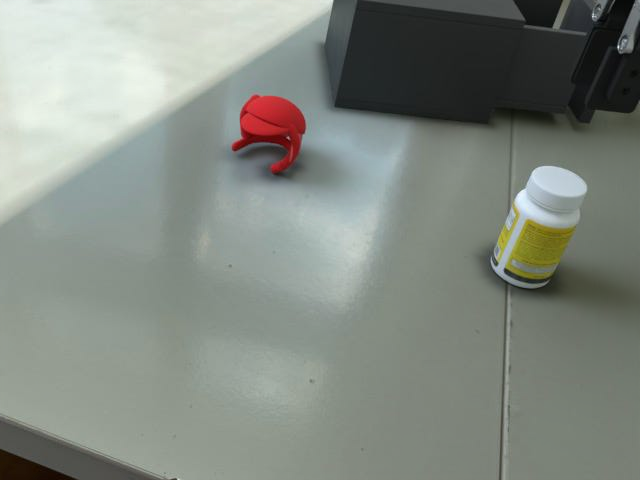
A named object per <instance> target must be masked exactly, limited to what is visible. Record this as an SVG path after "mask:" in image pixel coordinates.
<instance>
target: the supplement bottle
mask: <svg viewBox="0 0 640 480" xmlns="http://www.w3.org/2000/svg"><path fill="white" fill-rule="evenodd" d="M587 192H588V186H587V183H586V181H585V180H584V179H583V178H581V176H579V175H578V174H576V173H574V172H573V171H571V170H569V169H566V168H563V167H560V166H554V165H541V166H539V167H536V168H535V169H533V171H532V172H531V174H530V176H529V178H528V181H527V182H526V185H525V188H524V189H522V190H521V191H519V192H518V193H517V195H516V196H515V199H514V200H513V203H512V205H511V208H510V210H509V213H508V215H507V218H506V219H505V222H504V225H503V227H502V230H501V232H500V235H499V237H498V239H497V241H496V244H495V246H494V249H493V251H492V254H491V257H490V264H491V268H492V269H493V271H494V272H495V273H496V275H498V276H499V278H501V279H503V280H504V281H505V282H507V283H509V284H511V285H513V286H515V287H518V288H524V289H537V288H541V287H544V286H545V285H547V284H549V282H550V280H551V279H552V277H553V276H554V274H555V271H556V269H557V267H558V265H559V263H560V260H561V259H562V257H563V255H564V253H565V250H566V248H567V247H568V244H569V242H570V241H571V238H572V237H573V234H574V232H575V230H576V228H577V226H578V224H579V222H580V219H581V210H580V208H581V206H582V204H583V202H584V199H585V197H586V194H587Z"/></svg>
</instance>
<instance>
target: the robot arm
mask: <svg viewBox="0 0 640 480" xmlns="http://www.w3.org/2000/svg"><path fill="white" fill-rule="evenodd" d="M595 3H596V4H595V6H594V9H593V12H592V20H593V21H594V22H598V24H595V23H591V25H590V27H589V29H588V32H587V34H586V36H585V39H584V41H583V43H582V46H581V48H580V50H579V53H578V55H577V58H576V60H575V62H574V65H573V67H572V69H571V72H570V74H569V79H570V81H571V82H572V83H573V84H576V85H584V86H591V87H590V90H589V92H588V94H587V96H586V98H585V104H586V105H587V107H588V108H589V109H593V110H595V111H602V112H609V113H610V112H611V113H617V114H619V113H620V114H631V113H634V111H635V110H636V109H637V107H638V105H639V103H640V0H596V2H595Z"/></svg>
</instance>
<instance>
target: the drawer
mask: <svg viewBox="0 0 640 480" xmlns="http://www.w3.org/2000/svg"><path fill="white" fill-rule="evenodd" d="M513 1H514V3H515V4H516V6H517V8H518V9H519V11H520V12H521V14H522V15H523V17H524V19H525V20H526V22H525V25H524V27H523V30H522V33H521V36H520V38H519V41H518V44H517V46H516V49H515V52H514V55H513V57H512V60H511V63H510V66H509V68H508V71H507V74H506V76H505V79H504V82H503V85H502V87H501V90H500V93H499V96H498V98H497V101H496V104H495V106H494V107H500V108H508V109H515V110H516V109H518V110H524V111H525V110H526V111H533V112H543V113H551V114H558V115H564V114H565V112H566V110H567V107H568V108H569V110H570V111H571V113H572V114H573V116H574V118H575V120H576V121H577V123H578V124H588V125H589V124H590V123H591V121H592V119H593V117H594V114H595V113H596V110H593V109H589V108H588V107H587V105H586V104H585V98H586V96H587V94H588V92H589V90H590V87H591V86H584V85H576V84H573V83H572V82H571V81H570V79H569V74H570V72H571V69H572V67H573V65H574V62H575V60H576V58H577V55H578V53H579V50H580V48H581V46H582V43H583V41H584V39H585V36H586V34H587V32H588V29H589V27H590V25H591V23H595V24H598V22H594V21H593V20H592V12H593V9H594V6H595V4H596V2H595V1H594V0H570V1H569V2H568V5H567V8H566V10H565V13H564V15H563V18H562V20H561V22H560V25H559V28H555V27H554V25H555V23H556V20H557V18H558V15H559V12H560V10H561V8H562V5H563V2H564V0H513ZM553 27H554V28H553Z"/></svg>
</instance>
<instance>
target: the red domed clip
mask: <svg viewBox="0 0 640 480" xmlns="http://www.w3.org/2000/svg"><path fill="white" fill-rule="evenodd" d="M239 130H240V136H241V137H242V138H240V139H238V140H236V141H234V142H233V143H232V145H231V151H233V152H234V153H235V152H238V151H240V150H242V149H243V148H245V147H247V146H250V145H252V144H257V143H260V144H261V143H263V144H265V143H266V144H273V145H277V146H280V147H282V148H284V149H285V150H286V151H287V153H286V155H285V156H284V158H283V159H282V160H280V161H278V162H276V163H273V164H271V166H270V172H271V174H278V173H282V172H284V171H286V170H287V169H289V168H290V167H291V166H292V165H293V164H294V163H295V161H296V160H297V157H298V156H299V153H300V149H301V145H302V141H303V136H304V135H305V134H306V131H307V122H306V119H305V116H304V114H303V112H302V111H301V109H300V108H299V107H298V106H297V105H296V104H295V103H293V102H292V101H291V100H288V99H286V98H284V97H282V96H277V95H262V96H260V95H259V94H253V95H251V97H249V99H248V100H247V101H246V102H245V103H244V104H243V106H242V107H241V110H240V113H239Z"/></svg>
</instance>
